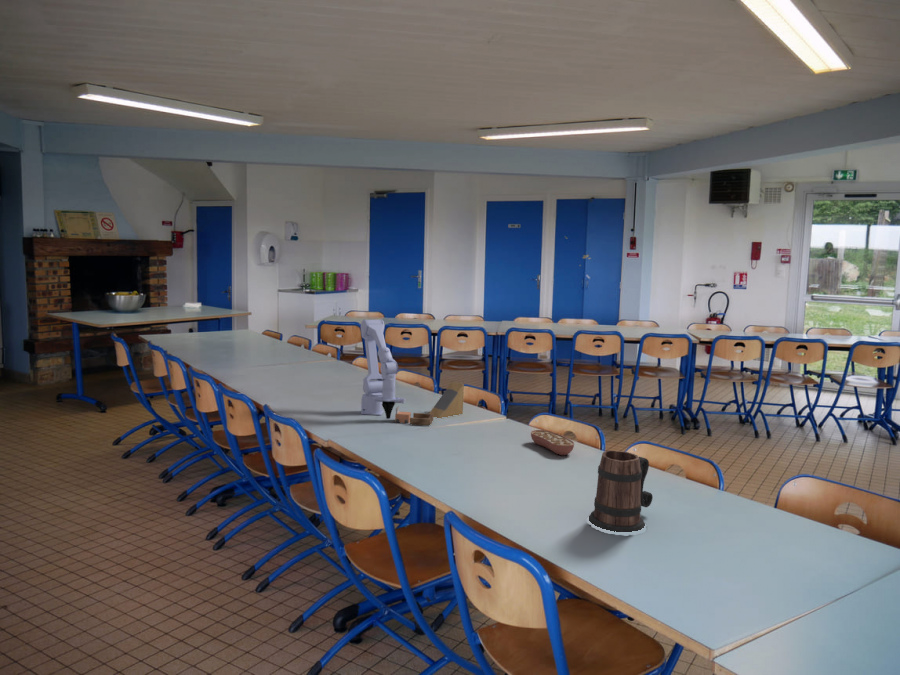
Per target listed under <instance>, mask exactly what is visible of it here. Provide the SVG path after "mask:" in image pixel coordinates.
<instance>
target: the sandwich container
mask: <svg viewBox="0 0 900 675" xmlns="http://www.w3.org/2000/svg"><path fill="white" fill-rule="evenodd" d="M464 390H465V384H464V383H462V382H457V381H453V380H452V381H451V382H450V384H449V385H448V386H447V388H446V390H445V391H444V392H443V394H442V395H441V396H440V397H439V399H438V401H437V402H436V404H435V405H434V406H433V407H432V408H431V410H430V411H429V412H428V414H433V418H434V417H437V418H441V419H443V418H442V417H447V418H449V417H448V416H452V417H454V416H453V415H458V416H460V415H459V414H463V415H464V413H463V412H464V393H465V392H464ZM437 418H436V419H437Z"/></svg>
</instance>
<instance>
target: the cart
mask: <svg viewBox="0 0 900 675" xmlns="http://www.w3.org/2000/svg"><path fill="white" fill-rule="evenodd" d="M411 414H412V412H411V411H400V406H397V407H396V408H395V416H394V417H395V418H394V420H395V421H394V422H397V423H396V424H410V418H412V417H411ZM398 422H400V423H398ZM401 422H402V423H401Z"/></svg>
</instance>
